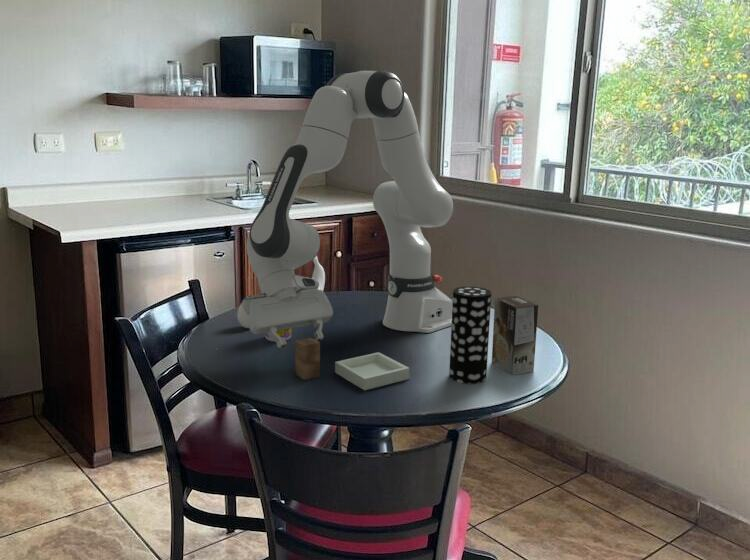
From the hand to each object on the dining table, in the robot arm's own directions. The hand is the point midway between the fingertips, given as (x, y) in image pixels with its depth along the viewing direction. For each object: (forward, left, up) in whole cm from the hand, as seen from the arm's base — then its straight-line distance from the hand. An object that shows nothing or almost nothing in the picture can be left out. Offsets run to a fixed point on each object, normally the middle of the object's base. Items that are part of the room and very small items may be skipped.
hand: (301, 343), depth 161 cm
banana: (-28, -46, -7) cm, 54 cm away
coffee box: (-43, +23, -7) cm, 50 cm away
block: (0, +2, -7) cm, 7 cm away
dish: (-12, +10, -7) cm, 17 cm away
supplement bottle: (-6, -24, -7) cm, 26 cm away
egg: (-3, -36, -7) cm, 37 cm away
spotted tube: (-30, +22, -7) cm, 38 cm away
